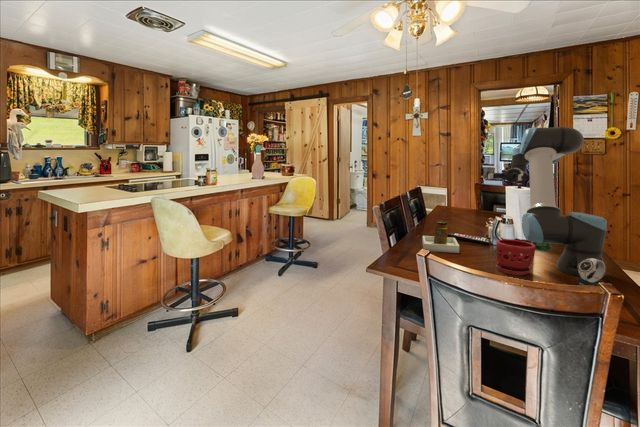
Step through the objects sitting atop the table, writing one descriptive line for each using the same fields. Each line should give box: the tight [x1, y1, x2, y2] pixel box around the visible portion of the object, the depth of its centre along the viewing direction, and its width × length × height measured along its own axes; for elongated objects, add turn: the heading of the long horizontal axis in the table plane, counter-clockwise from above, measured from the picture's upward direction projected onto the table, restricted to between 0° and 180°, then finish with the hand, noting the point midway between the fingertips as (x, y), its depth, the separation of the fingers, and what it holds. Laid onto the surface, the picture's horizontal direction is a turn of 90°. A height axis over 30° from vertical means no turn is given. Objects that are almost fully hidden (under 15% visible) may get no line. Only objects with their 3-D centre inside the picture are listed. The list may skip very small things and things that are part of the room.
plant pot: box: [495, 238, 536, 276], centre depth 126 cm, size 13×13×12 cm
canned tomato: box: [530, 241, 552, 252], centre depth 156 cm, size 8×8×11 cm
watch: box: [576, 258, 606, 286], centre depth 108 cm, size 6×8×11 cm
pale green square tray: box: [421, 235, 460, 254], centre depth 159 cm, size 16×16×4 cm
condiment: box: [431, 220, 449, 245], centre depth 159 cm, size 7×8×12 cm
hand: (503, 177), depth 159 cm, fingers open, 13 cm apart
